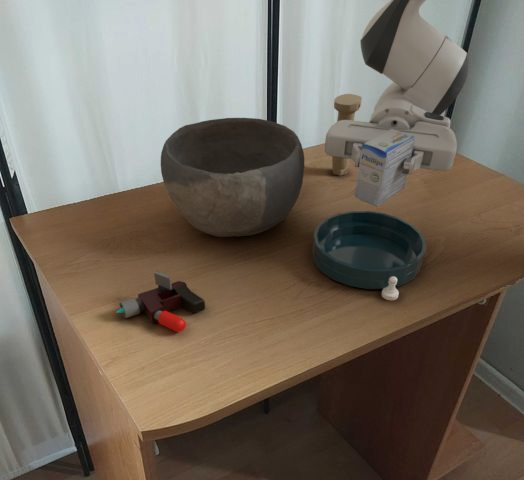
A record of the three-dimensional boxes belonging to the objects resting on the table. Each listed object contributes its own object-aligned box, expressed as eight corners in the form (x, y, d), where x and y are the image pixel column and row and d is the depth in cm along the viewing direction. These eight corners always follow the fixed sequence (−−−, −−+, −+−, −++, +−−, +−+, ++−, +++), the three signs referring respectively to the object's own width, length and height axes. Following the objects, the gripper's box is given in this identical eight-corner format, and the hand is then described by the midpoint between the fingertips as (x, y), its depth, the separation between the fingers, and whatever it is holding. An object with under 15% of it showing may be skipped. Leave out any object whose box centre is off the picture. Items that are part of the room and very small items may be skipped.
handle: (355, 170, 115) (366, 96, 105) (343, 181, 111) (352, 106, 101) (335, 164, 117) (343, 92, 107) (322, 176, 113) (329, 101, 103)
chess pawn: (389, 302, 82) (393, 284, 80) (377, 294, 84) (381, 275, 81) (401, 297, 83) (405, 278, 81) (390, 288, 85) (394, 270, 82)
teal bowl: (423, 240, 95) (429, 219, 93) (416, 300, 83) (422, 279, 80) (323, 224, 99) (325, 204, 96) (301, 280, 86) (303, 259, 83)
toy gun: (113, 312, 79) (106, 286, 76) (186, 288, 84) (183, 262, 81) (137, 351, 73) (131, 325, 70) (215, 323, 78) (213, 296, 75)
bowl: (173, 265, 88) (162, 179, 78) (163, 196, 106) (154, 118, 95) (316, 251, 92) (324, 167, 82) (284, 186, 109) (288, 110, 99)
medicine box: (380, 180, 87) (390, 127, 81) (404, 189, 85) (416, 135, 79) (353, 198, 83) (361, 142, 77) (377, 208, 81) (388, 152, 75)
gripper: (334, 104, 89) (317, 136, 80) (460, 119, 85) (458, 154, 76) (330, 142, 94) (314, 176, 84) (450, 157, 90) (447, 195, 80)
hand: (383, 166), depth 80 cm, fingers closed on medicine box, 6 cm apart
